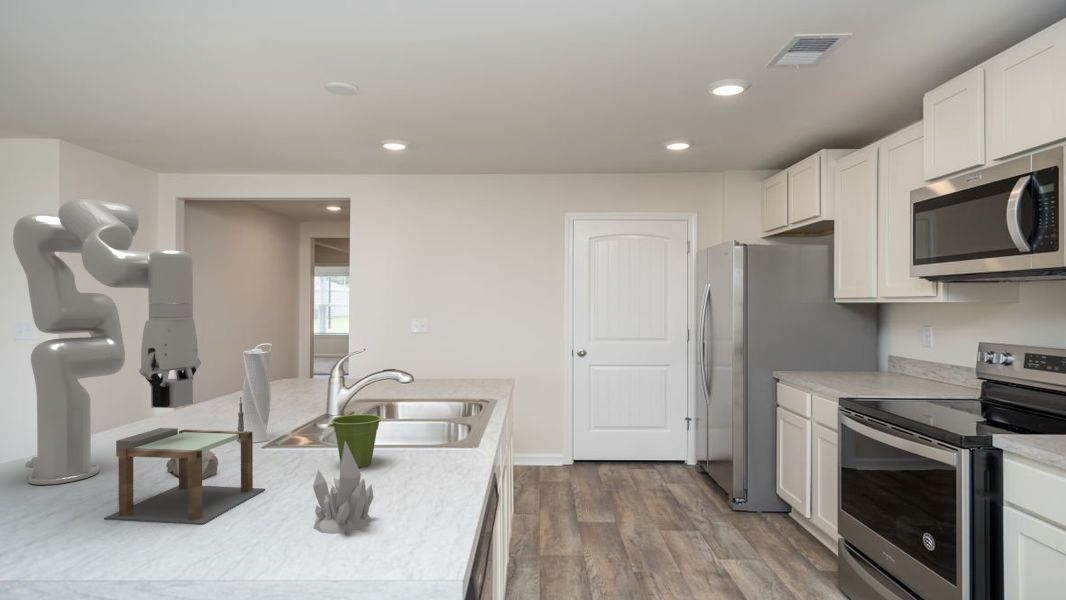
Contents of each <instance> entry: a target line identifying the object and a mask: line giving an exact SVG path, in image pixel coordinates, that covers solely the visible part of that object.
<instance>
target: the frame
mask: <svg viewBox="0 0 1066 600" xmlns="http://www.w3.org/2000/svg"><path fill="white" fill-rule="evenodd" d="M183 432H194V433H225V434H239V439H241V443H240V487H241V492H250V491H251V490H253V488H254V487H253V485H254V483H253V482H254V480H253V479H254V476H253V473H254V472H253V468H254V467H253V466H254V464H253V462H254V461H253V457H254V456H253V455H254V454H253V451H254V449H253V448H254V446H253V444H254V443H253V434H252V432H248V431H246V430H244V432H241V431H238V430H237V431H236V430H235V431H234V430H208V429H207V430H205V429H181V430H179V431H178V434H180V433H183ZM117 457H118V511H119V516H128V515H130V514H133V513H134V508H133V505H134V458H137V457H139V458H143V457H144V458H160V459H161V458H162V459H163V458H164V459H171V458H179V476H178V485H179V489H188V520H197V519H199V518H201V517H202V486H203V480H202V450H167V449H140V448H123V449H120V450H118V456H117Z"/></svg>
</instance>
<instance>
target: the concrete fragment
mask: <svg viewBox="0 0 1066 600" xmlns="http://www.w3.org/2000/svg"><path fill="white" fill-rule="evenodd" d="M218 461H219V460H218V458H217V456H216V455H215V453H214V452H213V451H211V450H208V451H205V452H203V453H202V481H203V480H205V479H207V478H208V477H212V476H216V475H217V472H218V466H219V462H218ZM165 466H166V468H167V469H166V471H167V473H173V474H174V475H175V476H178V477H179V458H169V460H167V461H166V465H165Z"/></svg>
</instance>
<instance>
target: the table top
mask: <svg viewBox="0 0 1066 600" xmlns="http://www.w3.org/2000/svg"><path fill="white" fill-rule="evenodd" d="M264 491H266V488H264V487H262V488H260V487H253V490H251V491H250V492H241V486H240V487H239V486H237V487H236V486H216V485H214V486H213V485H202V517H201V518H199V519H197V520H188V489H179V484H178V485H176V486H173V487H171V488H169V489H166V490H164V491H162V492H160V493H158V494H155V495H153V496H150V497H148V498H146V499H143V500H141V501H139V502H136V503H133V508H134V513H133V514H130V515H128V516H119V510H118V511H117V512H116V511H115V512H114V513H111V514H109V515H107V516H105V517H103V519H104V520H110V521H111V520H112V521H114V520H115V521H131V522H148V523H149V522H150V523H166V524H167V523H168V524H182V523H183V524H185V525H200V524H201V525H202V524H203V525H206V524H207V523H208V521H209V522H210V520H211V521H212V520H214V519H216V518H217V516H218V517H220V516H222V515H223V514H225V513H227V512H229V511H230V510H232V509H234V508H236V507H238V506H240V505H241V504H243V503H245V502H247V501H249V500H250V499H252V498H254V497H256V496H257V495H259V494H261V493H262V492H264ZM235 506H236V507H235ZM233 507H234V508H233ZM231 508H232V509H231ZM229 509H230V510H229ZM228 510H229V511H228ZM226 511H227V512H226ZM224 512H225V513H224ZM222 513H223V514H222ZM219 515H220V516H219ZM215 517H216V518H215ZM201 525H200V526H201Z"/></svg>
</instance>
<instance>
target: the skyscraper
mask: <svg viewBox="0 0 1066 600" xmlns="http://www.w3.org/2000/svg"><path fill="white" fill-rule="evenodd" d="M262 346H269V349H268V351H263V349H261V348H260V347H262ZM272 348H273V344H272V343H269V342H268V343H266V342H265V343H260V344H257V346H255V347H254V349H253V348H252V349H249V350H244V351H243V352H242V359H243V363H244V364H243V366H244V371H245V375H244V379H243V387H242V396H241V397H240V399H239V401H240V403H239V404H238V405H239V410H238V413H237V415H238V416H237V417H238V419H237V431H241V432H245V431H248V432H252V434H253V444H258V443H265V442H270V439H269V436H268V434H267V433H268V432H267V430H268V429H267V428H268V424H269V418H270V413H271V398H272V397H271V396H272V395H271V384H270V379H269V375H268V371H267V370H268V365H269V362H270V361H269V360H270V354H271V350H272ZM236 441H237V443H239V444H241V439H237V440H236Z"/></svg>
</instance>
